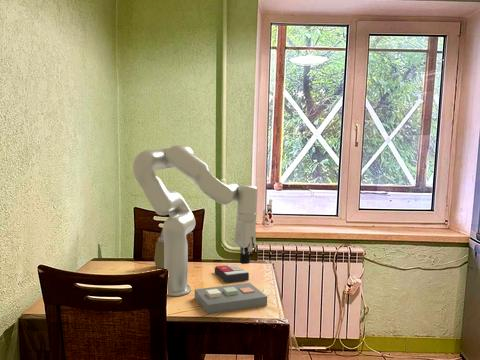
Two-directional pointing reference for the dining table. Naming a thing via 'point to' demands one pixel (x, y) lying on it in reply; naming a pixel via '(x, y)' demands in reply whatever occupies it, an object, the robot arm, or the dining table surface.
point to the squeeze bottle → (159, 252)
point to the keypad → (230, 299)
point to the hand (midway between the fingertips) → (244, 263)
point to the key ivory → (213, 293)
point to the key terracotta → (246, 290)
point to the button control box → (231, 273)
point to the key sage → (230, 291)
